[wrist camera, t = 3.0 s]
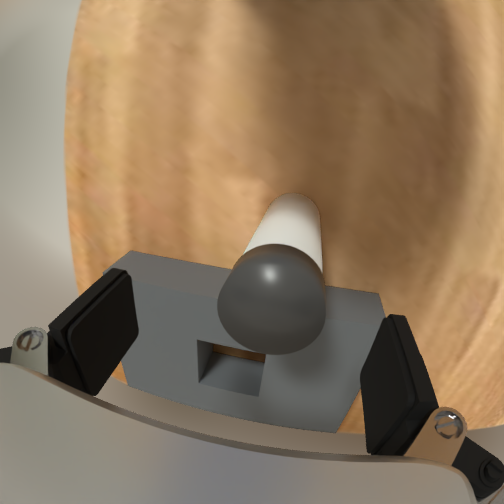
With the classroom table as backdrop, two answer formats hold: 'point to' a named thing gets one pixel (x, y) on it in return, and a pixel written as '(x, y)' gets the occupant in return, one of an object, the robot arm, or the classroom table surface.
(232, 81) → the classroom table surface
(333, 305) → the socket block
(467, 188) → the classroom table surface
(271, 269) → the peg
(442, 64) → the classroom table surface
